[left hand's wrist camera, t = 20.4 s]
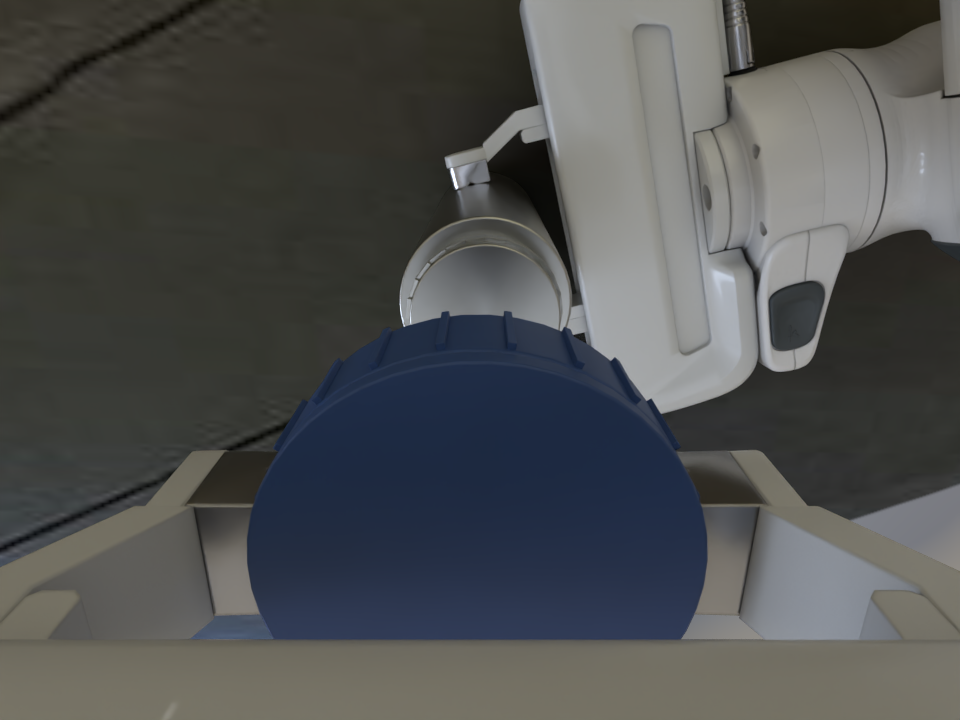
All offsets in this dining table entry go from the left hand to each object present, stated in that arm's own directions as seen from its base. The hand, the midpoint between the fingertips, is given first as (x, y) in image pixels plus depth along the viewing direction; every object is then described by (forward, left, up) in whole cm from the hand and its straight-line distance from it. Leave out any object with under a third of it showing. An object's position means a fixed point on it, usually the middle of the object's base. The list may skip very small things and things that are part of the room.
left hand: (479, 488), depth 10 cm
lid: (0, 0, +2) cm, 2 cm away
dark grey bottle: (0, 0, -27) cm, 27 cm away
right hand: (0, -1, -22) cm, 22 cm away
